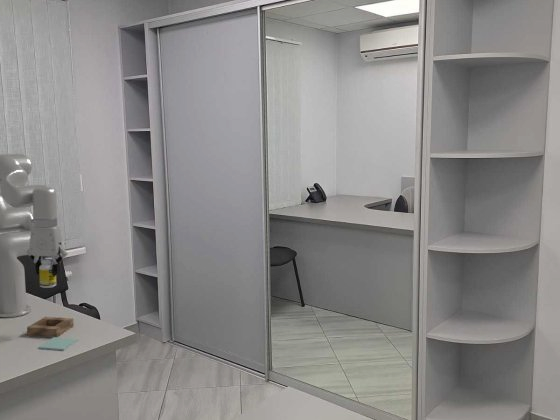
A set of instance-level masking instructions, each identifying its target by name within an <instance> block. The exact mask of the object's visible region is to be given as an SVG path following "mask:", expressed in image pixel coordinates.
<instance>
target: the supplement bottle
mask: <svg viewBox="0 0 560 420" xmlns="http://www.w3.org/2000/svg"><path fill="white" fill-rule="evenodd" d="M41 263H42V265H40V267H39V274H38V275H39V287H41V288H43V289H45V288H46V289H48V288H54V287H55V286H57V275H55V276H54V275H53V274H52V264H54V263H53V260H52V257H44V258H43V257H42V259H41Z"/></svg>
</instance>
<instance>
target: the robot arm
mask: <svg viewBox="0 0 560 420" xmlns="http://www.w3.org/2000/svg"><path fill="white" fill-rule="evenodd" d="M32 170H33V164H32V161H31V159H30V158H29V157H28V156H27V155H25V154H22V153H18V154H17V153H14V154H12V153H9V154H0V318H16V317H20V316H24V315H27V314H29V313H30V312H31V311H32V307H31V306H29V305H27V293H26V291H27V290H26V275H25V266H24V264H23V263H22V262H21V260H19V259H18V257H22V256H29V257H30V259H32V261H33V263H34V264H35V273H36V275H39V267H40V265H42V263H41V259H43V257H44V258H52V260H53V264H52V274H53V275H54V276H55V275H56V276H57V275H59V274H60V271H61V270H60V269H61V268H60V263H61V262H62V261H63V260H64V259H65V258H66V257H67V256H68V253H69V252H67V250H65V248H64V247H63V240H62V239H63V238H62V233H61V229H60V227H59V226H58V207H57V191H56V188H54V187H50V186H49V187H48V186H47V185H45V184H33V185H31V184H30V185H28V184H27V185H26V183H27V182H28V177H29V175H30V174H31V173H32ZM29 208H32V211H31V210H30V209H29Z"/></svg>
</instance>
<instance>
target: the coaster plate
mask: <svg viewBox="0 0 560 420" xmlns="http://www.w3.org/2000/svg"><path fill="white" fill-rule="evenodd" d="M77 342H79V338H70V337H60V336H59V337H51V339H49V340H47V341H46V342H44V343H42V344H40V345H39V346H38V349H40V350H53V351H66V350H67V349H68V348H70V347H71V346H72V345H74V344H75V343H77Z"/></svg>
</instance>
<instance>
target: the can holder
mask: <svg viewBox="0 0 560 420" xmlns="http://www.w3.org/2000/svg"><path fill="white" fill-rule="evenodd" d="M74 325H75V323H74V318H71V317H70V318H68V317H54V316H44V317H42V318H41V319H39V320H37V321H35V322H34V323H32V324H31V325H29V326H27V328H26V329H27V336H31V337H44V338H45V337H46V338H47V337H48V338H53V337H59V338H60V336H62V335H63V334H65V333H66V332H68V331H69V330H71V329H72V328H73V326H74ZM70 328H71V329H70ZM67 330H68V331H67ZM64 332H65V333H64ZM61 334H62V335H61Z"/></svg>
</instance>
